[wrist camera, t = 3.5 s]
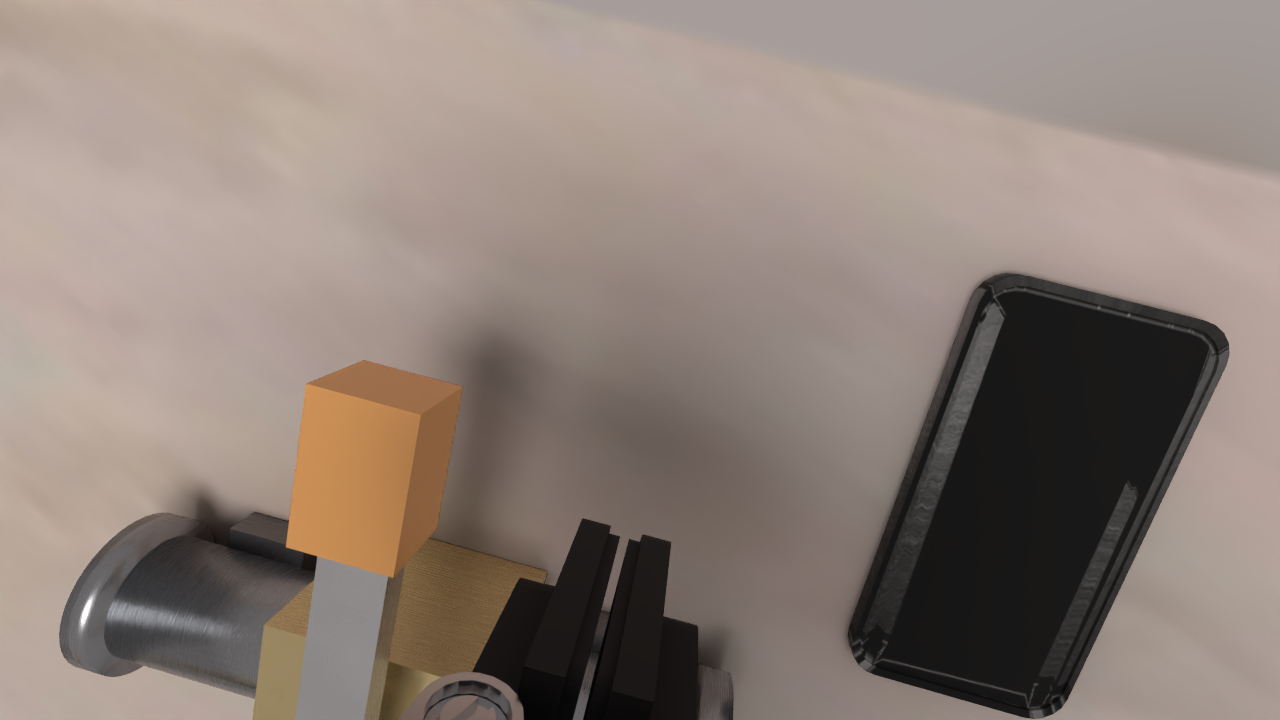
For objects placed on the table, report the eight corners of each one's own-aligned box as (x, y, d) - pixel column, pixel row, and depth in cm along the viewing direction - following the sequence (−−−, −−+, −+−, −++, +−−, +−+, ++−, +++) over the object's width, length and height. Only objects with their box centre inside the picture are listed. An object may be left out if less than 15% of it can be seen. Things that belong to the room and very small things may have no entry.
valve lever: (391, 831, 19) (346, 915, 17) (290, 800, 20) (233, 879, 17) (474, 389, 16) (434, 418, 14) (352, 357, 16) (293, 380, 14)
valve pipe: (736, 624, 25) (745, 795, 18) (689, 771, 26) (680, 985, 19) (198, 473, 26) (-5, 574, 19) (185, 622, 28) (-7, 770, 20)
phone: (843, 665, 24) (992, 267, 20) (837, 646, 25) (978, 264, 22) (1057, 727, 24) (1247, 331, 20) (1042, 704, 25) (1220, 325, 21)
